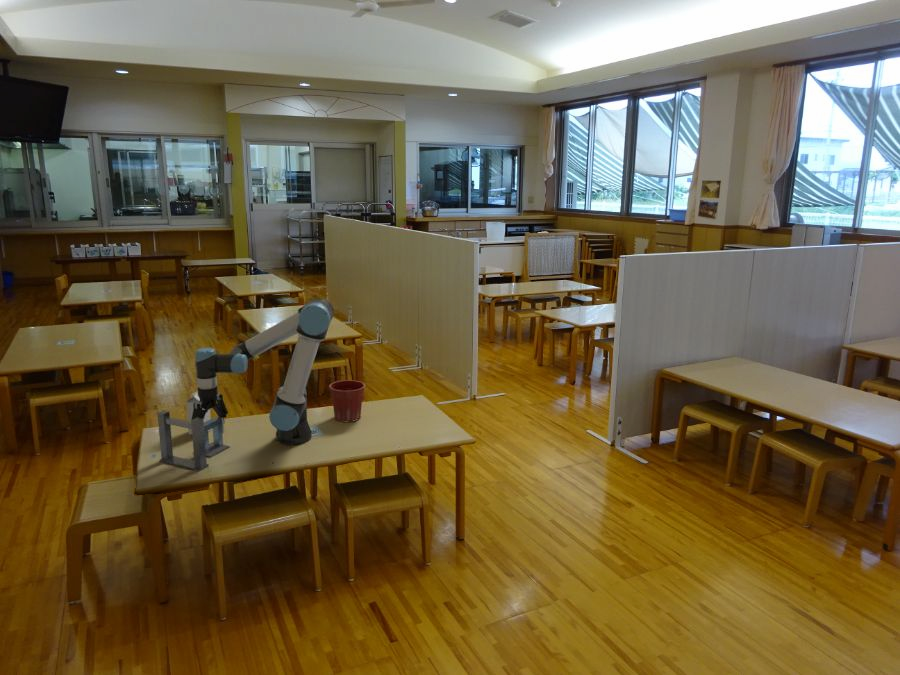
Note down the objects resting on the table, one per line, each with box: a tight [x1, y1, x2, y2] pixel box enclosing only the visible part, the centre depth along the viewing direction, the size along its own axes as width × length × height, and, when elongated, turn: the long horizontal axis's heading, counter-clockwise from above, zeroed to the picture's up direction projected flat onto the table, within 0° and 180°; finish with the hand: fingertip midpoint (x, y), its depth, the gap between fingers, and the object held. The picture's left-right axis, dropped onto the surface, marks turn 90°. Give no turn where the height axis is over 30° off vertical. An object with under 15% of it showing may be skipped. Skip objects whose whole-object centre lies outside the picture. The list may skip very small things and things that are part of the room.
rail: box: [157, 410, 210, 472], centre depth 249 cm, size 20×5×20 cm, turn 67°
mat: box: [192, 442, 231, 458], centre depth 264 cm, size 9×11×1 cm
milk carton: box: [185, 390, 212, 436], centre depth 279 cm, size 7×7×19 cm
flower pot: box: [328, 379, 366, 422], centre depth 301 cm, size 16×16×16 cm
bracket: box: [204, 416, 224, 454], centre depth 262 cm, size 10×3×12 cm, turn 157°
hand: (210, 437), depth 263 cm, fingers open, 11 cm apart
